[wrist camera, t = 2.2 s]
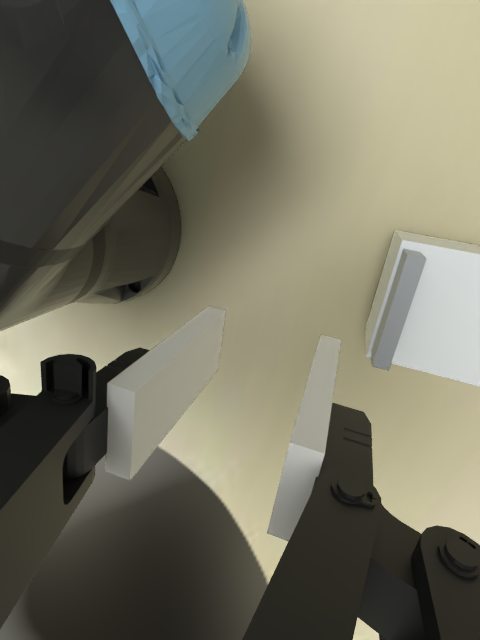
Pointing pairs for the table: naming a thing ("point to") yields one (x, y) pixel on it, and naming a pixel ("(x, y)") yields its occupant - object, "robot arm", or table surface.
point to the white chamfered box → (428, 308)
